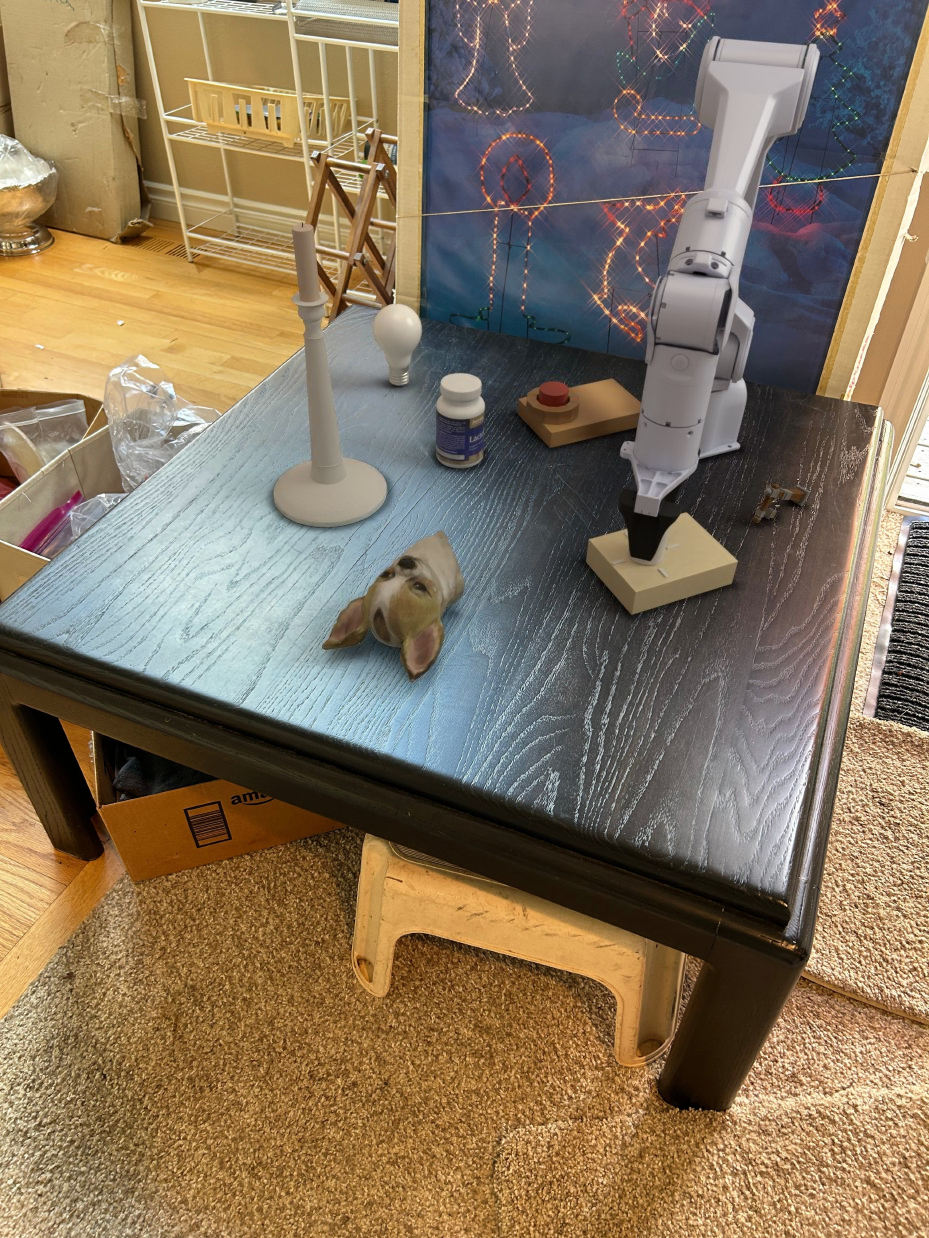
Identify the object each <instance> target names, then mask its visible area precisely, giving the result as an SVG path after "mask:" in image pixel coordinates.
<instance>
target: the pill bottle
mask: <svg viewBox="0 0 929 1238" xmlns="http://www.w3.org/2000/svg"><path fill="white" fill-rule="evenodd" d="M439 386H440V388H439V392H440V394H441V395H440V396H439V397H438V399H437V400H436V406H435V456H436V458H437V461H439V462H440V463H441V464H442V465H444V466H445V467H449V468H452V469H468V468H472V467H474V466H477V465H478V464H479V463H480V462H481V461H482V460H483V458H484V451H485V450H484V449H485V448H484V447H485V446H484V445H485V420H486V419H485V418H486V403H485V401H484V398H482V396H481V394H482V390H483V389H482V387H483V385H482V381H481V379H480V378H479V377H478V376H475V375H473V374H470V373H466V372H465V373H463V372H458V373H457V372H455V373H449V374H447V375H445V376H443V377H442V379H440V385H439Z"/></svg>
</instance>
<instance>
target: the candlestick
mask: <svg viewBox="0 0 929 1238" xmlns="http://www.w3.org/2000/svg"><path fill="white" fill-rule="evenodd" d="M291 235H292V243H293V244H292V245H293V252H294V253H293V254H294V261H295V269H296V276H297V277H296V279H297V286H298V287H297V289H298V292H297V293H295V294H293V295H292V296H291V299H290V300H291V302H292V303H293V304H295V305H296V307H297V315H298V317H299V318H300V319H301V320H302V323H303V325H304V332H303V334H302V336H303V343H304V356H305V357H304V358H305V372H306V389H307V390H306V393H307V405H308V406H307V407H308V422H309V425H308V426H309V439H310V441H309V442H310V459H308V460H305V461H302V462H301V463H298V464H296V465H294V466H293V467H291V468H289V469H288V470H287V471H286V472H284V473H283V474H282V475H281V476H280V477H279V478H278V480H277V481H276V483H275V485H274V487H273V492H272V493H273V494H272V495H273V502H274V505H275V507H276V509H277V510H278V511H279V512H280V514H281V515H283V516H284V517H285V518H287V519H289V520H290V521H292V522H295V523H297V524H301V525H304V526H309V527H315V528H316V527H317V528H334V527H335V528H336V527H343V526H348V525H352V524H354V523H358V522H361V521H363V520H365V519H367V518H369V517H370V516H372V515H373V514H375V513H376V512H377V511H378V510H379V509H380V508H381V507H382V506H383V505H384V503H385V502H386V499H387V496H388V485H387V481H386V479H385V477H384V475H382V473H381V472H380V471H379V470H378V469H377V468H376V467H374V466H372V465H370V464H369V463H367V462H364V461H362V460H359V459H355V458H352V457H347V456H344V455H343V450H342V445H341V438H340V432H339V431H340V430H339V426H338V424H339V423H338V419H337V412H336V406H335V398H334V393H333V386H332V379H331V373H330V366H329V360H328V353H327V346H326V340H325V336H326V335H325V332H324V331H323V329H322V322H323V318H324V317H325V315H326V310H325V307H324V306H325V304H326V302H328V301H329V298H330V297H329V295H328V294H327V293H326V292H324V291H320V290H321V289H320V282H319V281H320V280H319V273H318V272H319V271H318V263H317V262H318V261H317V251H316V249H317V248H316V241H315V229H314V226H313V225H312V224H309V223H304V222H303V221H302V222H301V223H297V224H294V225H293V226H291Z"/></svg>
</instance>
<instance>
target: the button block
mask: <svg viewBox="0 0 929 1238" xmlns="http://www.w3.org/2000/svg"><path fill="white" fill-rule="evenodd" d="M539 388H540V386H538V387H534V388H533V389H531V390H530V391H529V392H527V394H526V396H525V397H520V398H518V400H517V414H518V416H519V417H520V418H521V419H522V420H523V421H524V422H525V424H527V426H528V427H529V428H531V430H532V431H533V433H535V434H536V435H537V436H538V437H539V438H540V439H541V440H542V441H543V442H544V443H545V445H547V447H548V448H550V449H551V448H556V447H560V446H564V445H569V444H573V443H576V442H581V441H585V440H589V439H593V438H598V437H602V436H606V435H611V434H614V433H619V432H623V431H627V430H632V429H637V427H638V421H639V415H640V409H641V402H642V401H639V400H638V399H637V398H636V397H635V396H634V395H632V393H630V392H629V391H628V390H626V388H625V387H623V386H622V385H621V384H620V383H619V382H618V381H616V380H615V379H614V378H608V379H604V380H599V381H594V382H589V383H586V384H580V385H575V386H571V387H568V388H569V392H568V402H567V404H566V405H565V406H560V407H549V406H545V405H542V404H540V403H539Z"/></svg>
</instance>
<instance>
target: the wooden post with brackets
mask: <svg viewBox="0 0 929 1238" xmlns="http://www.w3.org/2000/svg"><path fill="white" fill-rule="evenodd" d="M810 493H811V491H810V490H808V489H806V488H805V487H802V486H801V485H799V484H796V485H795V486H794V488H793V489H787V488H782V487H780V486H779V484H777V483H773V484H771V486H770V485H767V486H766V488H765V490H764V492H763V494H764V495H765V497H764V499H763V500H762V502H761V504H760V506H759V507H758V508H757V509H756V511H755V513H754V516H753V518H752V521H753V522H754V523H757V524H759V523H760V522H761V520H762V518H765V519H767V520H770V518H771V519H774V518H775V517H776V515H777V513H778V511H777V510H776V509H774V508H772V507H769V506H770V505H771V504H772V503H773V502H774V501H775V500H776V499H780V500H784V501H785V500H786V501H792V502H794V503H795V504H797V505H799V506H801V507H803V506H804V505H805V503H806V501H807V499H808V497H809V496H810V495H811V494H810Z"/></svg>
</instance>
